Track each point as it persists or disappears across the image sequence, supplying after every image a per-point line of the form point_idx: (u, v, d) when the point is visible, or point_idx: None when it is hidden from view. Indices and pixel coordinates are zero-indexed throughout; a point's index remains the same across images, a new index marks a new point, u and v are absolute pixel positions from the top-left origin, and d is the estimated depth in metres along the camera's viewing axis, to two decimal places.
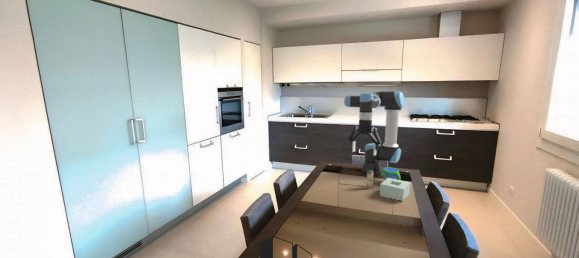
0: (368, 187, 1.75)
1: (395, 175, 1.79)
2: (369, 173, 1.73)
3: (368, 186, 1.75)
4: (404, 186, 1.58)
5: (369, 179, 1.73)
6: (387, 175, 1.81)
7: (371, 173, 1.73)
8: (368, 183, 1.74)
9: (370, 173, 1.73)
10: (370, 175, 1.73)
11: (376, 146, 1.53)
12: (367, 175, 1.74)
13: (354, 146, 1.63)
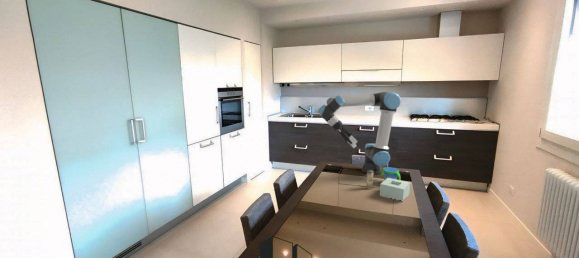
0: (368, 187, 1.75)
1: (395, 175, 1.79)
2: (369, 173, 1.73)
3: (368, 186, 1.75)
4: (404, 186, 1.58)
5: (369, 179, 1.73)
6: (387, 175, 1.81)
7: (371, 173, 1.73)
8: (368, 183, 1.74)
9: (370, 173, 1.73)
10: (370, 175, 1.73)
11: (348, 141, 1.77)
12: (367, 175, 1.74)
13: (353, 139, 1.90)
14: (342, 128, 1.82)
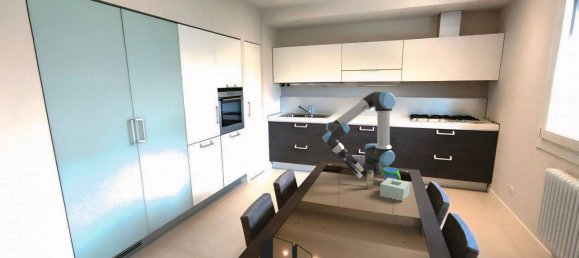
0: (368, 187, 1.75)
1: (395, 175, 1.79)
2: (369, 173, 1.73)
3: (368, 186, 1.75)
4: (404, 186, 1.58)
5: (369, 179, 1.73)
6: (387, 175, 1.81)
7: (371, 173, 1.73)
8: (368, 183, 1.74)
9: (370, 173, 1.73)
10: (370, 175, 1.73)
11: (354, 171, 1.69)
12: (367, 175, 1.74)
13: (359, 167, 1.82)
14: (347, 156, 1.75)
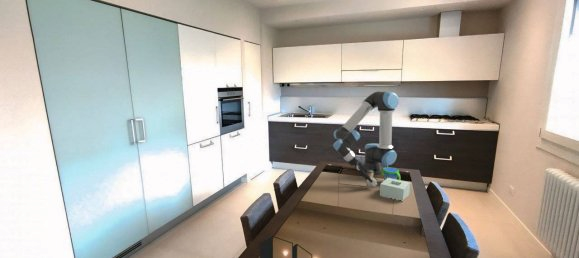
0: (368, 187, 1.75)
1: (395, 175, 1.79)
2: (369, 173, 1.73)
3: (368, 186, 1.75)
4: (404, 186, 1.58)
5: None
6: (387, 175, 1.81)
7: (371, 173, 1.73)
8: (368, 183, 1.74)
9: (370, 173, 1.73)
10: (370, 175, 1.73)
11: (368, 180, 1.72)
12: None
13: (372, 179, 1.77)
14: (359, 164, 1.74)
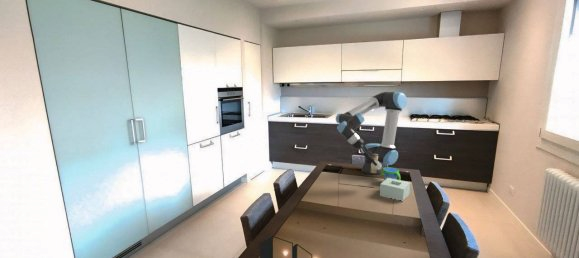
0: (372, 171, 1.70)
1: (395, 175, 1.79)
2: (374, 156, 1.68)
3: (372, 170, 1.70)
4: (404, 186, 1.58)
5: None
6: (387, 175, 1.81)
7: (376, 156, 1.67)
8: (372, 167, 1.69)
9: (375, 156, 1.68)
10: (375, 158, 1.68)
11: (373, 163, 1.67)
12: None
13: None
14: (364, 147, 1.69)
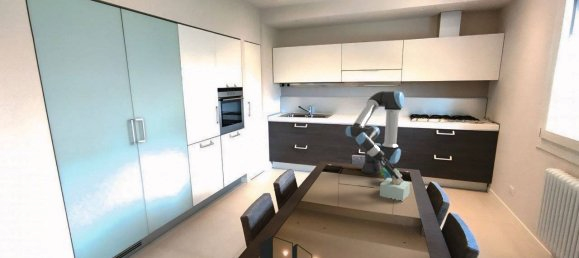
0: None
1: None
2: None
3: None
4: (404, 186, 1.58)
5: (395, 184, 1.62)
6: (387, 175, 1.81)
7: None
8: None
9: None
10: (396, 180, 1.61)
11: (394, 176, 1.58)
12: (392, 180, 1.62)
13: (397, 173, 1.66)
14: (384, 159, 1.62)
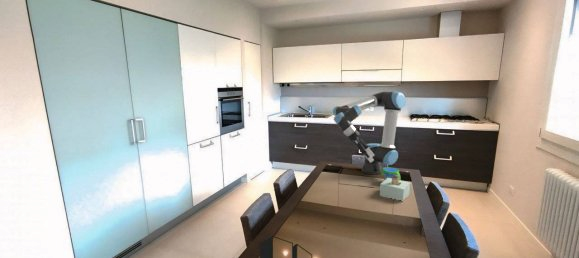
0: None
1: None
2: (395, 178, 1.61)
3: None
4: (404, 186, 1.58)
5: (394, 184, 1.62)
6: (387, 175, 1.81)
7: (397, 178, 1.61)
8: None
9: (396, 178, 1.61)
10: (396, 180, 1.61)
11: None
12: (392, 180, 1.63)
13: (369, 152, 1.74)
14: (359, 139, 1.67)
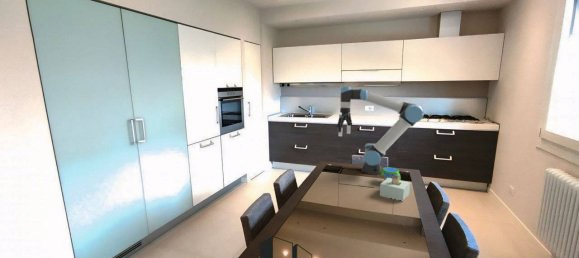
0: None
1: None
2: (395, 177, 1.62)
3: None
4: (404, 186, 1.58)
5: (395, 184, 1.62)
6: (387, 175, 1.81)
7: (397, 177, 1.61)
8: None
9: (396, 177, 1.61)
10: (396, 179, 1.62)
11: None
12: (392, 179, 1.63)
13: (348, 129, 2.03)
14: (345, 115, 1.93)
